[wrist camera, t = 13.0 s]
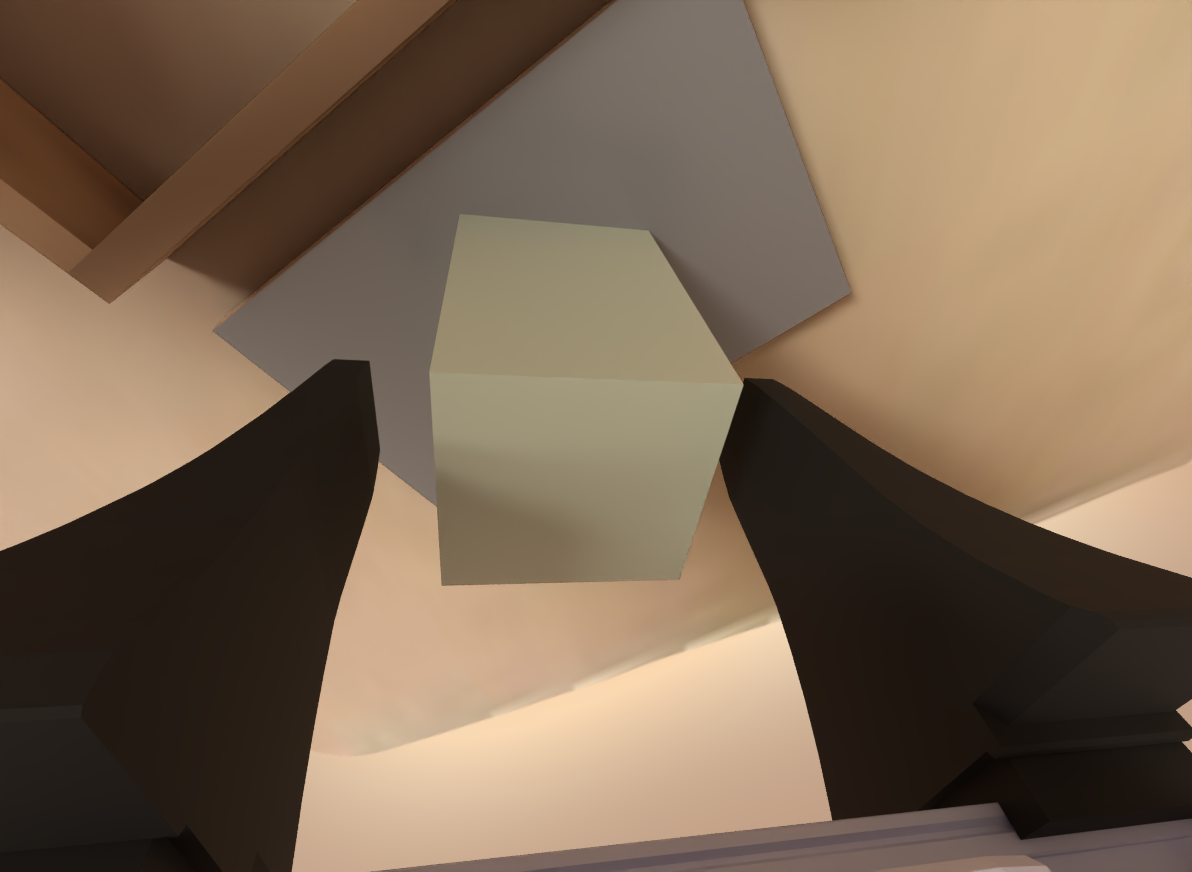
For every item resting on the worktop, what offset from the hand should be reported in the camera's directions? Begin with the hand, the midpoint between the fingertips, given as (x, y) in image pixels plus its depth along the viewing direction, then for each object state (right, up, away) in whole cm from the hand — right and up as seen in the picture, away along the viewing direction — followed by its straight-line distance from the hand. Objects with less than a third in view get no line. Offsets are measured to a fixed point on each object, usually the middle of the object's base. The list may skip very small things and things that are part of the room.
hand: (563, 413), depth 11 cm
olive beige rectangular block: (-1, +3, +4) cm, 5 cm away
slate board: (-1, +3, +4) cm, 6 cm away
